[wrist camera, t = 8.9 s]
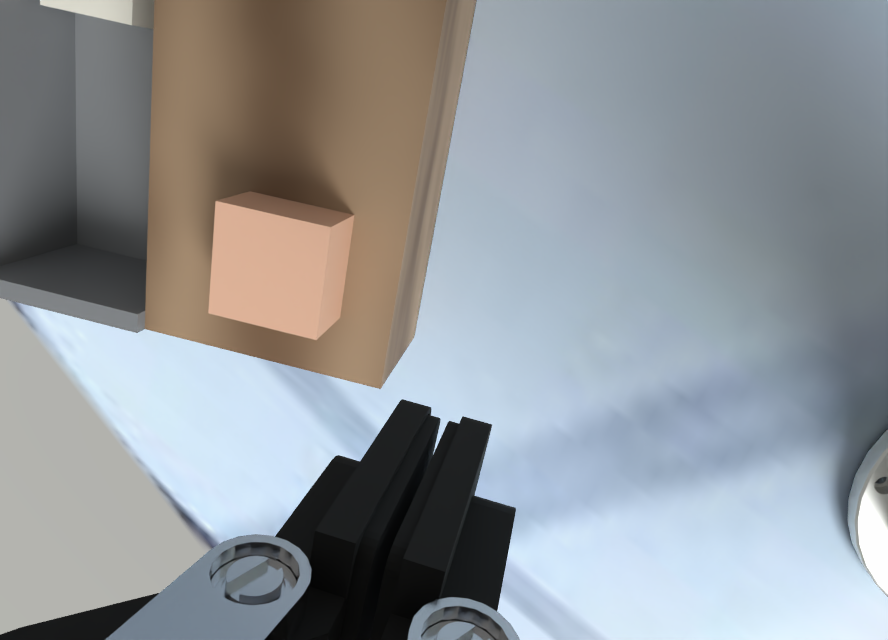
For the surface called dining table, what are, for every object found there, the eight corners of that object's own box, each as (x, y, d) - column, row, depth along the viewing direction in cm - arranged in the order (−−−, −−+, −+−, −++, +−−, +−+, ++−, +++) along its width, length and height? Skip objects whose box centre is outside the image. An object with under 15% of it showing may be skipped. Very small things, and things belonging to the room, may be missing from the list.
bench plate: (493, -94, 25) (472, -152, 19) (414, 337, 31) (380, 388, 25) (248, -136, 26) (160, -202, 20) (218, 289, 32) (144, 328, 26)
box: (248, -136, 26) (150, -210, 20) (218, 289, 32) (137, 332, 26) (65, -167, 27) (-82, -246, 21) (71, 253, 33) (-41, 287, 27)
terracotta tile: (354, 214, 23) (330, 227, 21) (340, 317, 25) (316, 340, 22) (250, 191, 24) (215, 200, 21) (241, 293, 25) (208, 313, 23)
